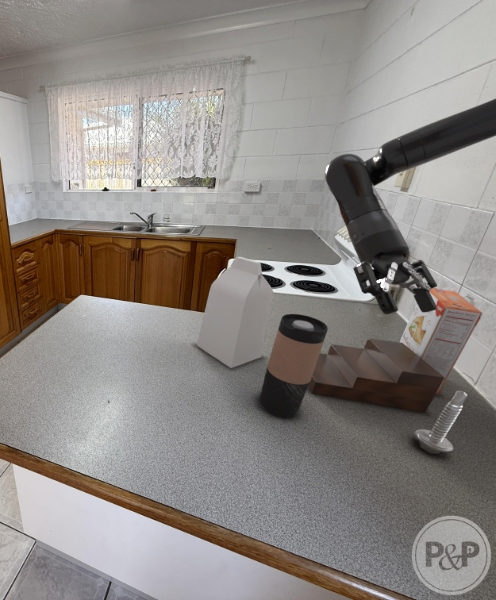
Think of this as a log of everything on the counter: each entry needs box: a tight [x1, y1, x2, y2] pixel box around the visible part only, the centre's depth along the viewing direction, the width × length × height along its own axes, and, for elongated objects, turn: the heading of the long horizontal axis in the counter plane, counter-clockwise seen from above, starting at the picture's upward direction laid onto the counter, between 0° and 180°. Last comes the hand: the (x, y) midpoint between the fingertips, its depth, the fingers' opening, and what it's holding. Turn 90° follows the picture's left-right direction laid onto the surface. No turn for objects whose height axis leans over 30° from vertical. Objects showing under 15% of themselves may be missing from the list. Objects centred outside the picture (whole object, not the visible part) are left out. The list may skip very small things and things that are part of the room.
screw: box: [414, 390, 469, 455], centre depth 54 cm, size 13×5×5 cm
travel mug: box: [259, 313, 329, 419], centre depth 62 cm, size 8×8×20 cm
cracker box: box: [399, 287, 484, 395], centre depth 73 cm, size 14×6×21 cm, turn 149°
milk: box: [196, 256, 274, 369], centre depth 81 cm, size 12×12×26 cm
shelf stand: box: [308, 337, 445, 414], centre depth 72 cm, size 21×14×9 cm, turn 74°
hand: (410, 312), depth 59 cm, fingers open, 8 cm apart
